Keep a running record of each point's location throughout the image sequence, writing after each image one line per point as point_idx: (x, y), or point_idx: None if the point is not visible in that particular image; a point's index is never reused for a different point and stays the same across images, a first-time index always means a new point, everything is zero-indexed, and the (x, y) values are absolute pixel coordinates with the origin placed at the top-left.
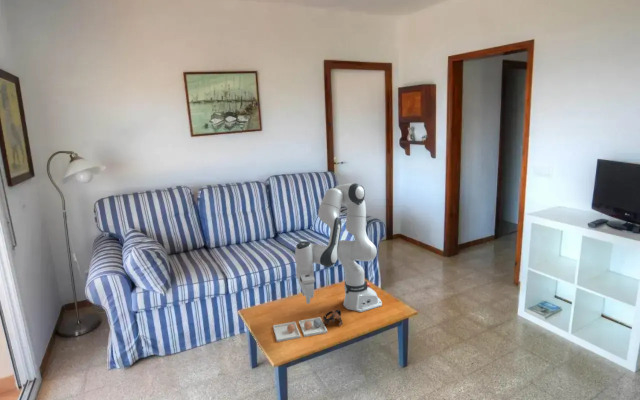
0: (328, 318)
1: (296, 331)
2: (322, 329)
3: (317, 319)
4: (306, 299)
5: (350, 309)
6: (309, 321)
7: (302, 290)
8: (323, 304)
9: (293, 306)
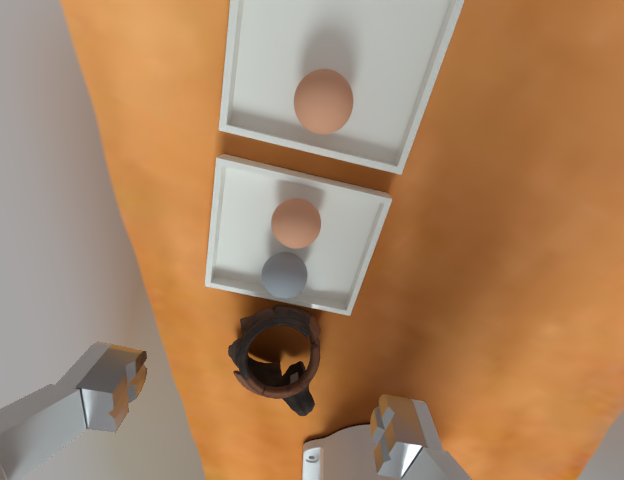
0: (245, 342)
1: (304, 136)
2: (247, 272)
3: (287, 292)
4: (36, 401)
5: (344, 430)
6: (294, 244)
7: (439, 475)
8: (472, 376)
9: (596, 252)
